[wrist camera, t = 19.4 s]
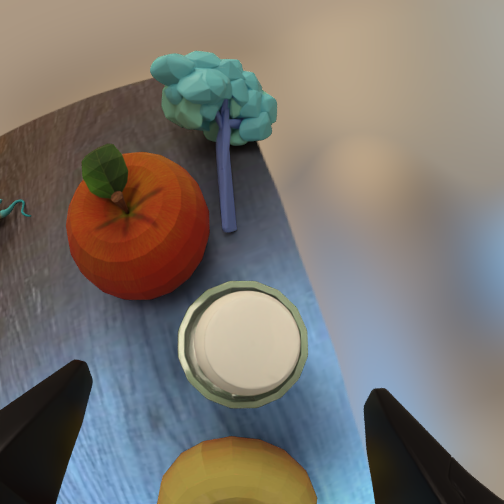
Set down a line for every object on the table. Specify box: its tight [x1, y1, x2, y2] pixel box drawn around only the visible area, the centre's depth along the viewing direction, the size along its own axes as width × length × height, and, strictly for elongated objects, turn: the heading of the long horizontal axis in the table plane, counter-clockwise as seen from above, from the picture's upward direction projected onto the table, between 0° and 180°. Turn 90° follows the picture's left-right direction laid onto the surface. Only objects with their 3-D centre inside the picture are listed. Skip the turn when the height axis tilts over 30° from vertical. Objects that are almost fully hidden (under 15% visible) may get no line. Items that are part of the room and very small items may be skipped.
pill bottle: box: [194, 291, 301, 396], centre depth 17 cm, size 5×5×10 cm
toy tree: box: [150, 51, 277, 232], centre depth 24 cm, size 11×9×15 cm
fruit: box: [66, 144, 210, 300], centre depth 19 cm, size 10×10×10 cm
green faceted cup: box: [178, 281, 308, 408], centre depth 20 cm, size 7×7×5 cm
